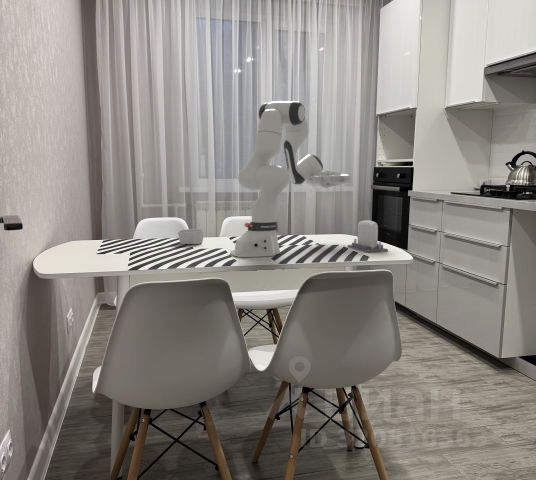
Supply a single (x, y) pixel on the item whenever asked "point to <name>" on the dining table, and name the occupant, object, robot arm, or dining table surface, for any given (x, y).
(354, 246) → the dock
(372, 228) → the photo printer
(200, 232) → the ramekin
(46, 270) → the dining table surface
